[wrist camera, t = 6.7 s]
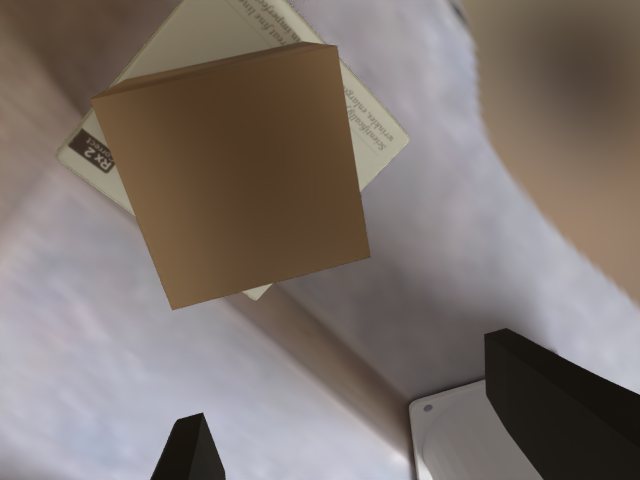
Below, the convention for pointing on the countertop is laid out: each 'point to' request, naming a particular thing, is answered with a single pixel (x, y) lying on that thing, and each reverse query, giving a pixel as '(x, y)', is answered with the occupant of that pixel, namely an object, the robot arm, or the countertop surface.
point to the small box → (218, 43)
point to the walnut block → (239, 169)
